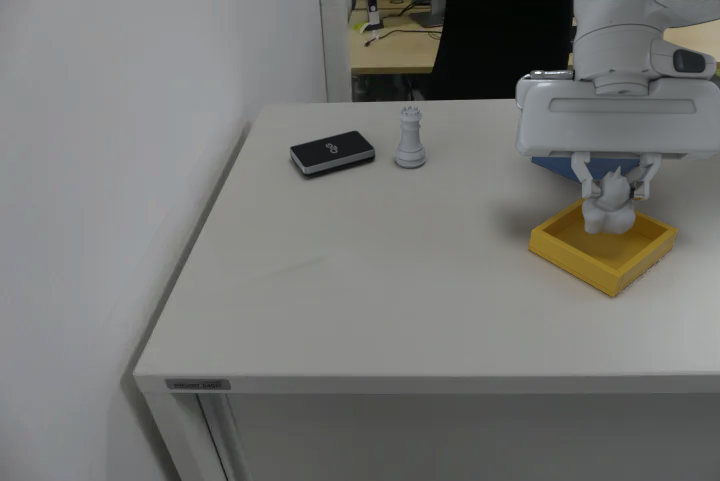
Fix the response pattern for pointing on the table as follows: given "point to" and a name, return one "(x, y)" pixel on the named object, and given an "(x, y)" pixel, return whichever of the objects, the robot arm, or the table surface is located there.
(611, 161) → the blue tray
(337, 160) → the external hard drive
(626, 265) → the yellow tray
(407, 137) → the rook chess piece
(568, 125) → the robot arm
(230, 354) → the table surface
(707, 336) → the table surface
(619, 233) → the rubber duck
